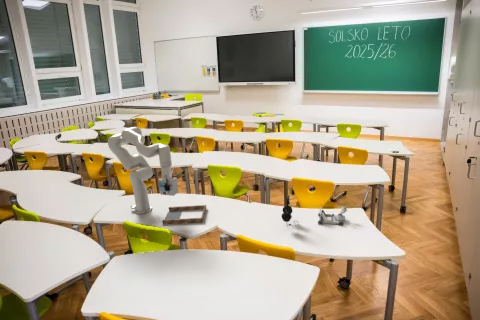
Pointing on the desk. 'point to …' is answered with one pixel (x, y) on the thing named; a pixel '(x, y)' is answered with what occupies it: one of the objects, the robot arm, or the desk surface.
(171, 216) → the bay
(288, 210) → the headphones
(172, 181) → the light bulb box
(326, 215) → the toy car
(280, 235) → the desk surface
